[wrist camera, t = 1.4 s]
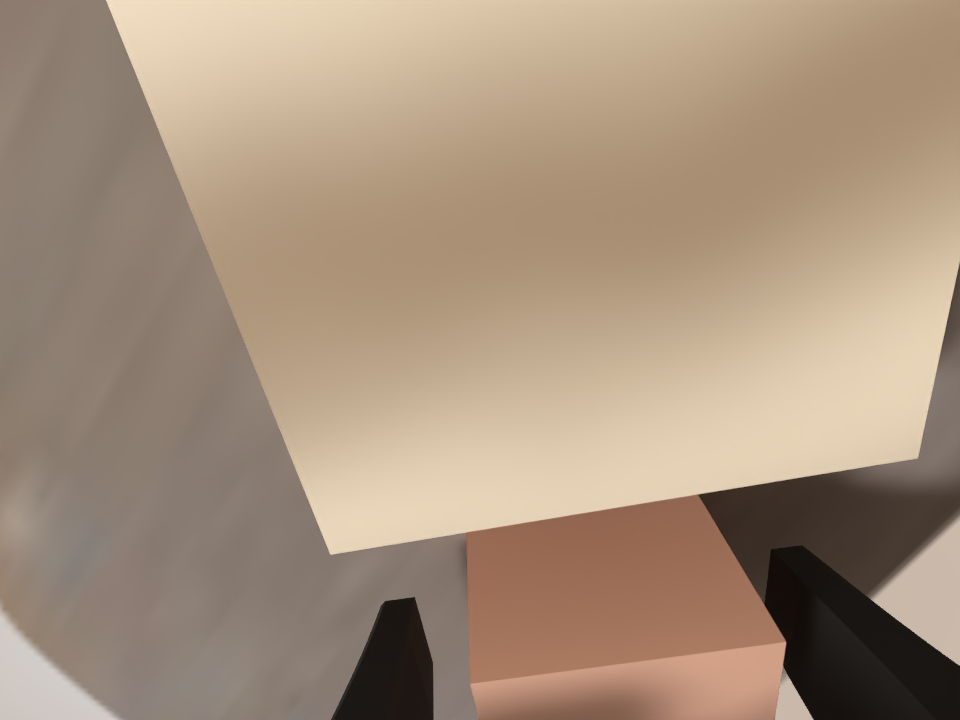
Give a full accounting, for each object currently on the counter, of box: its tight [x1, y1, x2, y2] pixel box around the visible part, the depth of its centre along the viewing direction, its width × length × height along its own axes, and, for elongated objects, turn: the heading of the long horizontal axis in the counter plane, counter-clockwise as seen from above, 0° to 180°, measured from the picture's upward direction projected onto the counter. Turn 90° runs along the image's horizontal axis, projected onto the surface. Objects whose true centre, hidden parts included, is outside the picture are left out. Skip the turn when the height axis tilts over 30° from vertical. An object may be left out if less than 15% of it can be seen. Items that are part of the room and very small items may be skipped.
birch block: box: [106, 0, 960, 555], centre depth 8 cm, size 8×8×4 cm
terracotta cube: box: [466, 494, 786, 720], centre depth 11 cm, size 4×4×4 cm
